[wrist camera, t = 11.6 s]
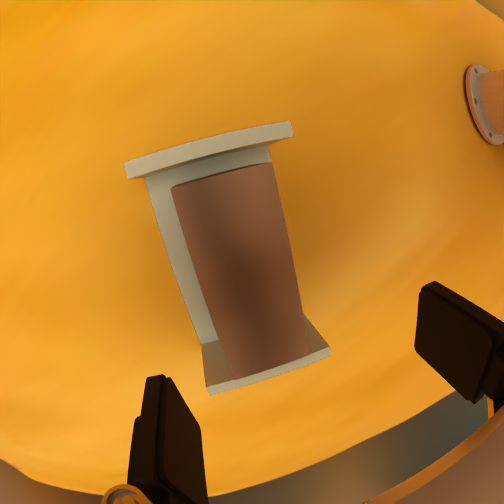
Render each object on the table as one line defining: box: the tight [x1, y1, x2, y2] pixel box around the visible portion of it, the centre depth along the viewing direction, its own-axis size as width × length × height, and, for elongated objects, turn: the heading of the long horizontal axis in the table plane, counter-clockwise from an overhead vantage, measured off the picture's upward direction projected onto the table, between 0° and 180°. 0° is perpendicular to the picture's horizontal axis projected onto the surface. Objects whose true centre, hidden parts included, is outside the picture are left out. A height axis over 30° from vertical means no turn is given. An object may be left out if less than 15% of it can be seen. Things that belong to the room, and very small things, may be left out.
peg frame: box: [124, 121, 331, 396], centre depth 21 cm, size 10×18×7 cm, turn 14°
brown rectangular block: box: [170, 162, 310, 380], centre depth 19 cm, size 6×13×5 cm, turn 14°
